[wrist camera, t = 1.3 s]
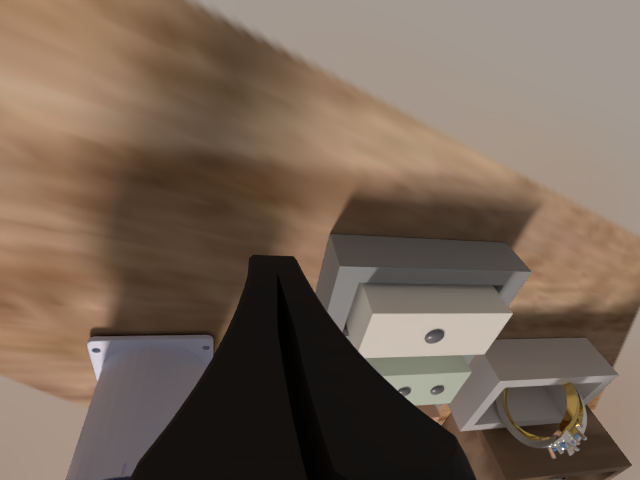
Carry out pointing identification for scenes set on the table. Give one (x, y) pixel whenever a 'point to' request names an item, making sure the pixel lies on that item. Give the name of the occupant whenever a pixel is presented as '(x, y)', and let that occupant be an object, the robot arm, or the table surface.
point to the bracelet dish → (529, 381)
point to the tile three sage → (424, 376)
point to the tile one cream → (425, 319)
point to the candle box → (540, 453)
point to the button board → (413, 268)
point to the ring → (564, 436)
